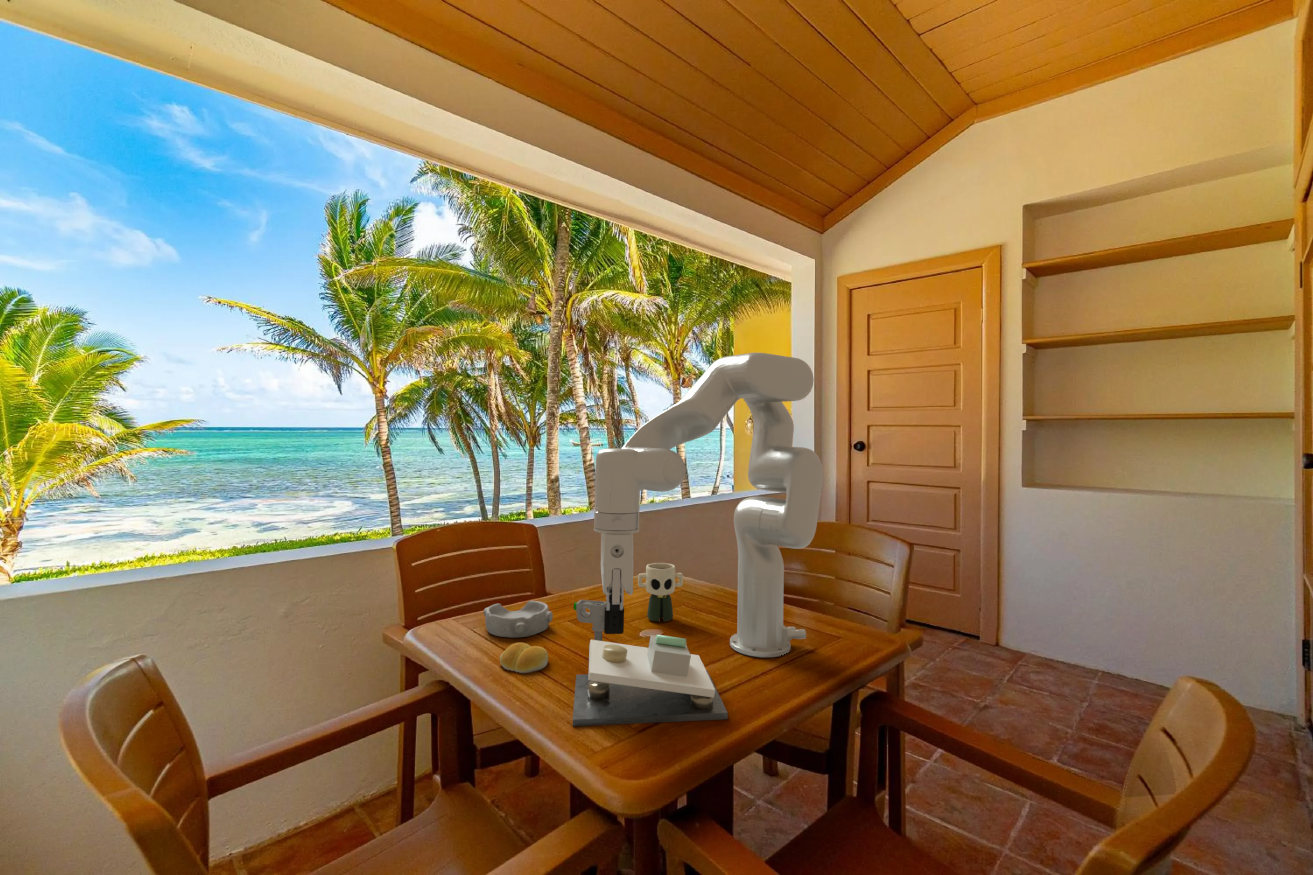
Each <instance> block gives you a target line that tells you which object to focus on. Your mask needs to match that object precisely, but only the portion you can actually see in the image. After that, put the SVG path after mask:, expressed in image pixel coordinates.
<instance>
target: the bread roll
mask: <svg viewBox="0 0 1313 875" xmlns="http://www.w3.org/2000/svg"><path fill="white" fill-rule="evenodd" d="M499 662H500V665H501V666H502V668H503V669H505V670H506V669H507V671H509V670H511V671H510V672H516V673H518V672H519V673H520V674H527V673H528V674H529V673H533V671H534V672H537V671H540V670H543V669H544V668H546V666H547V665H548V662H549V654H548V651H547V650H546V649H545V648H544V647H542V646H539V645H533V646H531V645H529V644H528V643H525V642H515V643H511V644H510V645H509V646H507V648H506V649H505V650H504V651H503V652H502V653H501V654H500V656H499Z"/></svg>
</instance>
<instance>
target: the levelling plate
mask: <svg viewBox="0 0 1313 875" xmlns="http://www.w3.org/2000/svg"><path fill="white" fill-rule="evenodd" d="M588 647H589V648H588V651H589V652H588V653H589V655H588V674H589V678H588V680H591V681H598V682H605V683H613V684H620V685H627V686H634V687H642V688H649V689H656V690H663V691H670V692H678V693H685V694H692V695H699V696H706V697H714V694H715V688H714V686H713V684H712V682H711V680H710V678H709V676H708V674H707V672H706V670H707V669H706V667H705V665H704V663H703V662H702V659H701V657H700V655H699V654H692V653H691V652H690V650H689V648H688V645H687V638H683V637H682V638H681V637H675V636H671V635H662V634H656V635H653V634H651V635H650V638H649V643H648V647H645V646H639V645H638V646H637V645H630V644H623V643H618V642H612V641H611V642H610V641H604V640H602V641H598V640H594V639H590V641H589V646H588Z"/></svg>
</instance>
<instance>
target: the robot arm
mask: <svg viewBox="0 0 1313 875" xmlns="http://www.w3.org/2000/svg"><path fill="white" fill-rule="evenodd" d="M813 386H814V374H813V371H812V368H811V367H810V365H809V364H808V363H807V362H806V361H804V359H800V358H798V357H793V356H784V355H778V354H772V353H767V352H766V353H765V352H749V353H743V354H742V353H741V354H735V355H728V356H722V357H720V358H718V359H716V360H715V361H713V362H712V364H711V365H710V366H709V367H707V369H706V370H705V371H704V372H703V373H702V374H701V376H700V377H699V378H698V379H697V381H696V382H695V383H694V384H693V385H692V386H691V388H689V390H688V391H687V392H686V393H685V394H684V396H682V398H681V399H680V400H679V401H678V402H676V403H675V404H673V405H671V406H669V407H668V408H666V409H665V410H663V411H662V412H661V413H659V414H657V415H655V417H653V418H651V419H650V420H648V421H647V422H645V424H643V425H642V426H640V427H639V428H638V429H637V430H636V431H635V432H634V433H633V434H632V435H631V437H630V438H629V439H628V440H627V441H626V442H625V443H624V445H622V447H621V448H619V447H617V448H613V447H611V448H610V447H609V448H602V449H599V450H598V452H597V453H596V457H595V475H594V476H595V478H594V480H595V481H594V482H595V484H594V513H593V514H594V518H593V520H594V521H593V531H594V532H596V533H599V534H600V573H601V585H602V592H603V594H604V595H605V597H606V598H605V602H606V607H605V613H604V631H603V632H604V635H623V634H624V630H625V625H624V624H625V607H623V606H624V591H625V594H628V595H629V596H631V595H633V593H634V535H633V534H636V533H639V532H640V509H641V508H640V506H641V503H640V501H641V500H640V498H641V491H642V490H645V491H651V492H661V493H663V492H664V493H665V492H668V491H669V492H670V491H673V490H674V489H676V488H678V487H679V486H680V485H681V484H682V483H683V481H684V479H685V477H686V472H687V468H686V464H685V461H684V459H683V458H682V456H681V455H680V454H678V453H677V452H676V451H674V450H672V449H674V448H675V447H677V446H680V445H682V444H685V443H688V442H692V441H694V440H697V439H700V438H702V437H704V436H707V435H709V434H710V433H712V432H714V430H716V428H717V427H718V426H719V424H720V423H721V422H722V420H723V419H724V418H725V416H726V415H727V414H728V413H729V412H730V411H731V409H732V407H734V405H735V404H736V403H737V402H738V401H739V400H740V399H743V401H744V402H745V404H746V406H747V407H748V410H749V411H750V413H751V417H752V421H753V429H752V430H753V432H752V439H751V441H752V442H751V445H750V446H751V448H750V453H749V454H750V455H749V461H748V469H747V470H748V471H747V478H748V481H749V483H750V484H751V486H753V488H755V489H758V490H762V491H766V492H775V493H776V492H777V493H785V495H786V496H785V497H786V498H785V499H784V498H777V497H769V496H756V495H755V496H750V497H746V498H743V499H742V500H741V501H739V503H738V504H737V506H736V507H735V509H734V513H733V527H734V531H735V538H736V544H737V546H736V547H737V618H736V619H737V621H736V623H737V629H736V630H737V632H736V633H734V634H733V635H731V637H730V638H729V646H730V648H731V649H733V651H736V652H737V653H739V654H742V655H745V656H749V657H755V658H776V657H781V655H782V656H785V655H787V654H788V653H789V652H791V649H792V648H791V642H790V641H792V640H793V639H796V640H804V639H807V632H806V629H803V628H799V629H797V628H796V626H786V625H784V587H785V586H784V585H785V584H784V583H785V582H784V579H785V578H784V576H785V575H784V574H785V566H784V565H785V564H784V559H783V556H782V552H781V550H780V547H783V548H788V549H795V550H796V549H797V550H798V549H799V550H800V549H803V548H806V547H808V546H809V545H810V544H811V542H812V541H813V539H814V538H815V534H816V531H817V525H818V518H819V511H820V503H821V495H822V489H823V488H822V487H823V478H824V470H823V465H822V462H821V459H820V457H819V456H818V454H817V453H816V452H815V451H814V450H812V449H810V448H808V447H803V446H802V447H799V446H793V442H794V441H793V440H794V433H795V432H794V431H795V429H794V428H795V426H794V421H793V418H792V415H791V414H790V412H789V410H788V409H787V406H786V405H784V403H783V402H797V401H801V400H804V399H805V398H807V396H808V395H809V394H810V393H811V392H812V389H813ZM786 653H787V654H786ZM784 654H785V655H784Z"/></svg>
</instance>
